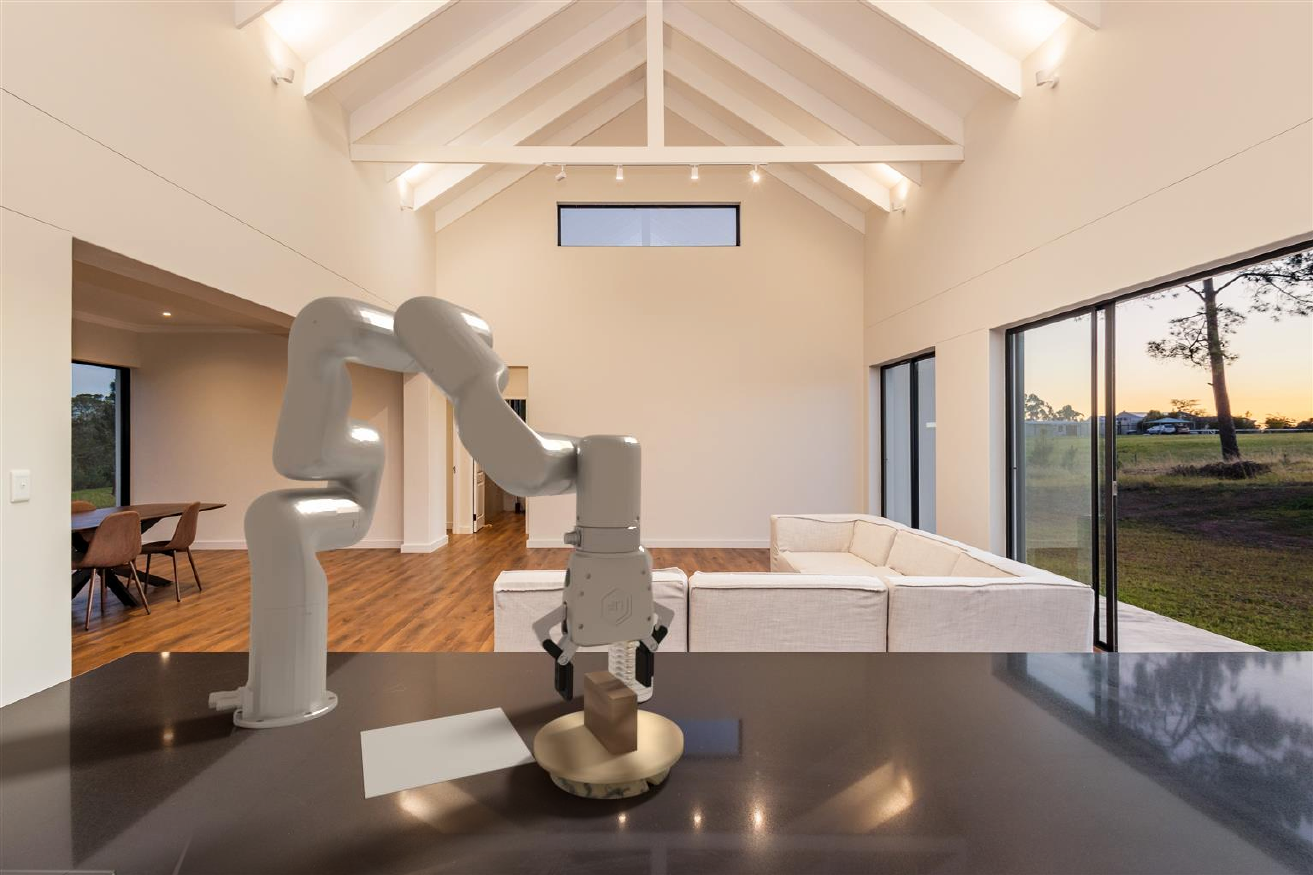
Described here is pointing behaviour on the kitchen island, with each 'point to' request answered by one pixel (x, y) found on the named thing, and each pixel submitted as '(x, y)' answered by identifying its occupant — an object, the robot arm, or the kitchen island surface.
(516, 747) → the mat
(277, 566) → the robot arm
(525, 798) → the kitchen island surface
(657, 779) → the decorative bowl
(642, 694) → the water bottle
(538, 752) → the lid
